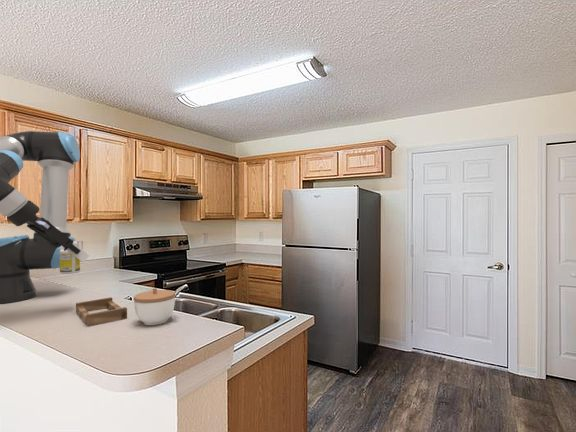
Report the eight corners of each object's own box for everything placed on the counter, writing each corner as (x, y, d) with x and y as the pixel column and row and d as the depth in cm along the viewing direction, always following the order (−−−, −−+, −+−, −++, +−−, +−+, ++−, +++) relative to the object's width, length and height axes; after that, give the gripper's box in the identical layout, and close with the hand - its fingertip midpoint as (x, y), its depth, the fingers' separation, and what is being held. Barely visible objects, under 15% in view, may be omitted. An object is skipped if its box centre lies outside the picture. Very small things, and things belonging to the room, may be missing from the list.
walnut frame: (76, 312, 104) (75, 303, 104) (111, 306, 111) (111, 297, 111) (87, 326, 91) (87, 315, 90) (127, 318, 97) (126, 308, 97)
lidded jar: (159, 314, 101) (158, 283, 101) (183, 319, 95) (182, 286, 95) (126, 324, 92) (125, 290, 92) (151, 330, 86) (150, 294, 86)
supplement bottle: (76, 270, 110) (76, 240, 109) (82, 272, 106) (82, 242, 106) (57, 272, 106) (57, 241, 105) (63, 275, 102) (63, 243, 102)
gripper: (-3, 217, 99) (63, 264, 112) (13, 217, 88) (84, 270, 101) (19, 200, 103) (80, 247, 116) (37, 198, 92) (102, 251, 105)
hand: (82, 258), depth 109 cm, fingers closed on supplement bottle, 5 cm apart
